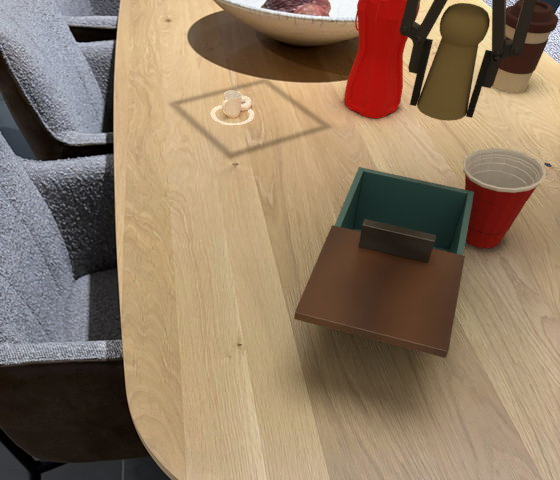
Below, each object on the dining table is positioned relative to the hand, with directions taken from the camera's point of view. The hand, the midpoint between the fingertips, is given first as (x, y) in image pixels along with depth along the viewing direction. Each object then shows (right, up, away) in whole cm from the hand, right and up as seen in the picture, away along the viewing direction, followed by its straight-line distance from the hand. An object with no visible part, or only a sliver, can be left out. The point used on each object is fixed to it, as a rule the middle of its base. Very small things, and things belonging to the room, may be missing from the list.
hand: (442, 105), depth 72 cm
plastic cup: (+10, -12, +17) cm, 23 cm away
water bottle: (-3, +18, +42) cm, 46 cm away
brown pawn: (0, 0, 0) cm, 0 cm away
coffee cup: (+27, +26, +51) cm, 63 cm away
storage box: (-4, -18, +11) cm, 22 cm away
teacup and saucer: (-25, +14, +36) cm, 46 cm away
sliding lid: (-8, -23, -7) cm, 25 cm away
